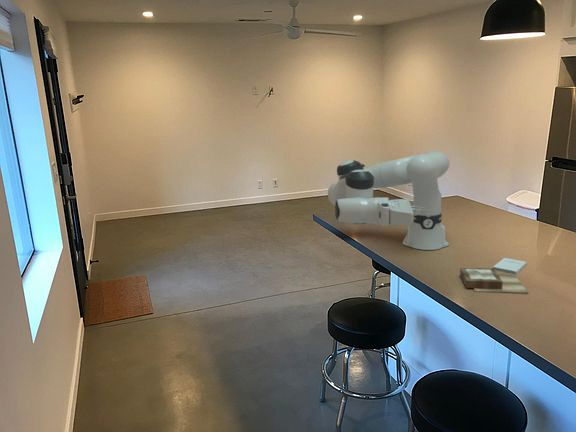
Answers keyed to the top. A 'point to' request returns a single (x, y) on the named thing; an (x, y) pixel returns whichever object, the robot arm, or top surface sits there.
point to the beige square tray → (506, 285)
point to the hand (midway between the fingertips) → (425, 210)
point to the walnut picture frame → (481, 278)
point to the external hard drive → (509, 265)
